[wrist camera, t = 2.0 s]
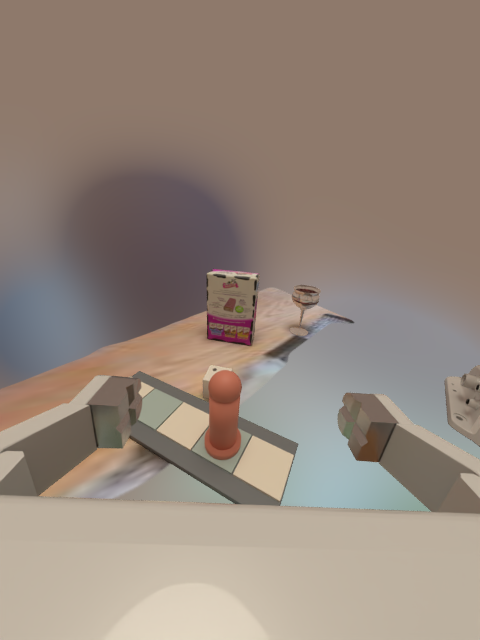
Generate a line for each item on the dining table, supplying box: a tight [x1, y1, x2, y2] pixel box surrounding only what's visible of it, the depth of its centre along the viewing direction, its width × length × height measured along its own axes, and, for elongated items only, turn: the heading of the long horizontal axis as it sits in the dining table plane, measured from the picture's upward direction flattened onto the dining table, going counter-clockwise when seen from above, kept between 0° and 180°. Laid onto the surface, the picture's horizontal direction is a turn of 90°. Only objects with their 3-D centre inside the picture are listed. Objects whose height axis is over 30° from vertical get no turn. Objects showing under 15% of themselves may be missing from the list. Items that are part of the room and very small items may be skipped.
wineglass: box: [290, 285, 321, 336], centre depth 59 cm, size 7×7×12 cm
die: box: [203, 365, 233, 399], centre depth 39 cm, size 4×4×4 cm
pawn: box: [205, 370, 242, 460], centre depth 28 cm, size 5×5×12 cm
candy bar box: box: [207, 269, 259, 345], centre depth 53 cm, size 11×5×16 cm, turn 79°
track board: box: [129, 371, 298, 506], centre depth 33 cm, size 10×30×1 cm, turn 63°
